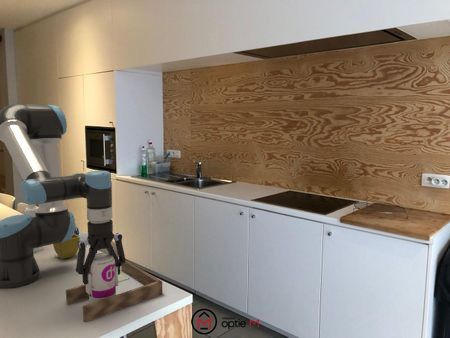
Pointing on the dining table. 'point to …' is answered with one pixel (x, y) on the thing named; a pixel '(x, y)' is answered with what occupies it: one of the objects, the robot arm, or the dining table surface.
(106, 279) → the supplement can
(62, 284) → the dining table surface
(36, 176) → the robot arm
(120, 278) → the pad
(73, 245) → the flower pot
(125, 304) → the channel walls
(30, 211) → the spray bottle
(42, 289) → the dining table surface
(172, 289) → the dining table surface
